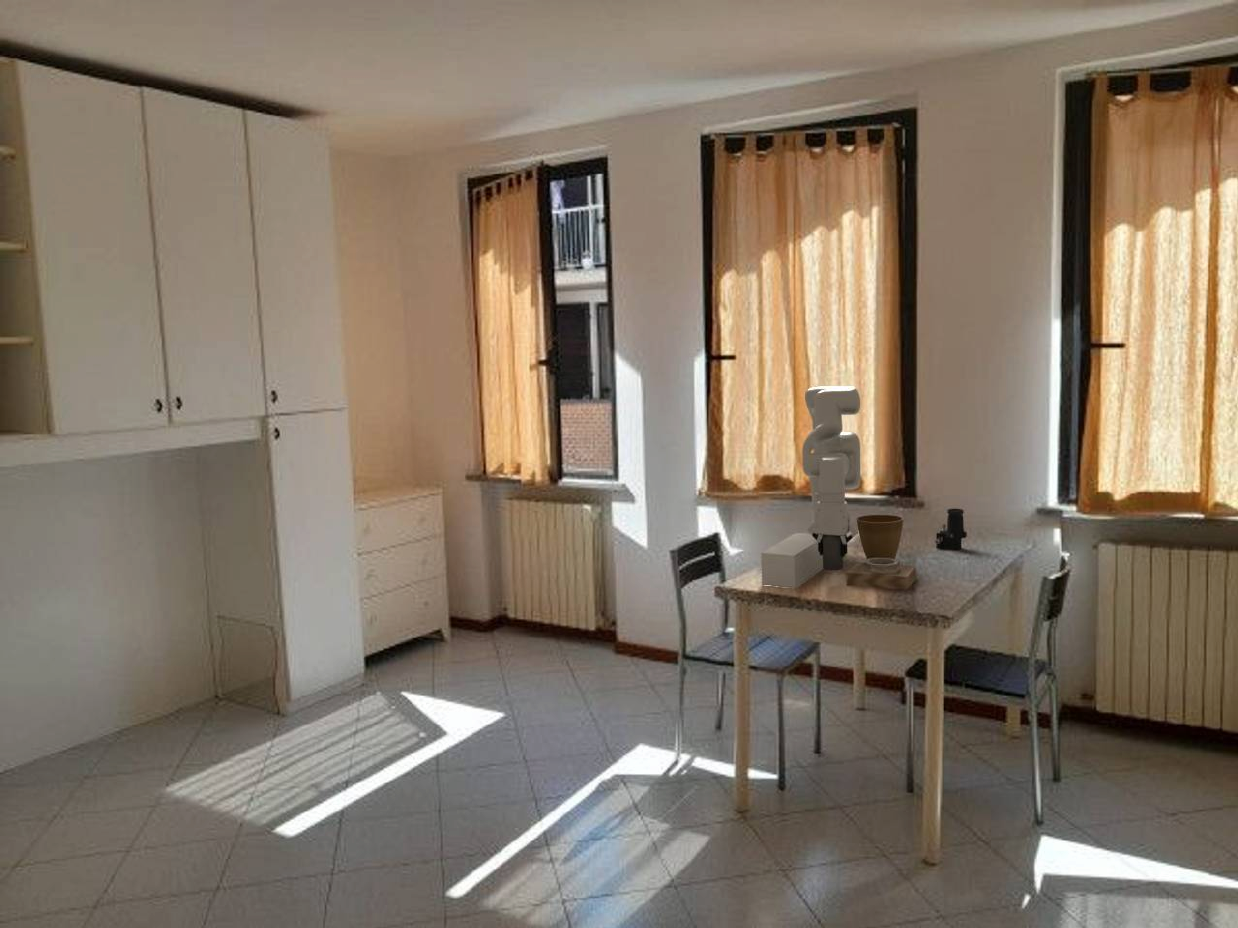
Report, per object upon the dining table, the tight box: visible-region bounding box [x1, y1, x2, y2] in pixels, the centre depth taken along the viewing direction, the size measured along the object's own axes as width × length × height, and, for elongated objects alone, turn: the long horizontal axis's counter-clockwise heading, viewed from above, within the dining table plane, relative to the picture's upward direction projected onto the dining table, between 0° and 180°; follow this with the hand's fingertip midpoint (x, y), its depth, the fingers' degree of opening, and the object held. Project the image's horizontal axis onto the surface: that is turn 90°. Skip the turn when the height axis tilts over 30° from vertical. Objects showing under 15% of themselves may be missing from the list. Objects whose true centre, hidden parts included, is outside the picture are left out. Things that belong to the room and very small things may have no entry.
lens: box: [823, 535, 844, 571], centre depth 297 cm, size 6×6×10 cm
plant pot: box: [856, 514, 904, 560], centre depth 319 cm, size 15×15×16 cm
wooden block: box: [846, 557, 917, 591], centre depth 298 cm, size 18×14×6 cm
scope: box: [934, 508, 968, 551], centre depth 340 cm, size 8×14×10 cm
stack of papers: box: [760, 532, 825, 589], centre depth 310 cm, size 32×11×11 cm, turn 151°
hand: (832, 554), depth 297 cm, fingers closed on lens, 6 cm apart
